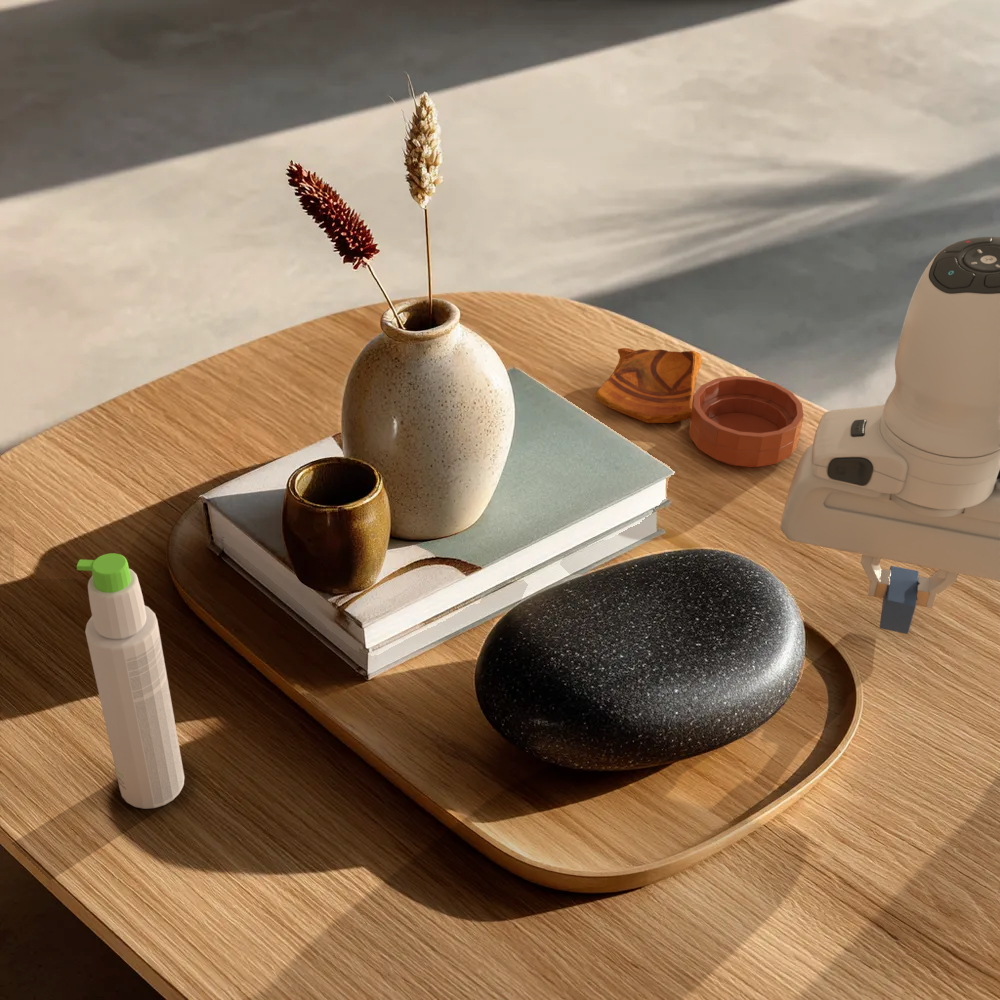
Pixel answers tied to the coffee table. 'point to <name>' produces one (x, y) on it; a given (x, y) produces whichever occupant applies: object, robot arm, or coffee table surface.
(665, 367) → the pottery fragment
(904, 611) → the eraser
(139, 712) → the bottle
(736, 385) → the bowl
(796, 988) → the coffee table surface
